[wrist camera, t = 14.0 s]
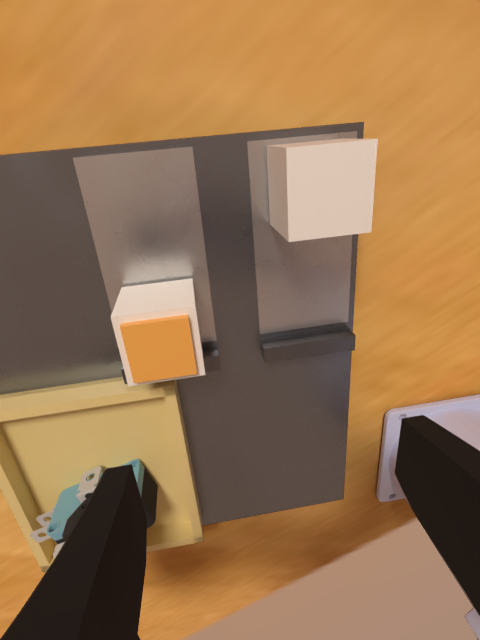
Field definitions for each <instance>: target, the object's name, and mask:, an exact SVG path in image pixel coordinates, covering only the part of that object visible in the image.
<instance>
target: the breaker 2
mask: <svg viewBox="0 0 480 640" xmlns="http://www.w3.org/2000/svg"><path fill="white" fill-rule="evenodd" d="M377 141H378V139H346V138H341V139H331V140H320V141H310V142H299V143H289V144H278V145H268V146H266V147H267V168H268V190H269V211H270V225H271V226H272V227H273V228H274V229H275V230H276V231H278V232H279V233H280V234H281V235H282V236H283V237H284V238H285V239H286V240H287V241H288V242H294V241H302V240H311V239H319V238H327V237H336V236H344V235H352V234H361V233H369V232H371V228H372V214H373V199H374V185H375V170H376V156H377Z"/></svg>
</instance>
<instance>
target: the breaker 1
mask: <svg viewBox="0 0 480 640" xmlns="http://www.w3.org/2000/svg"><path fill="white" fill-rule="evenodd" d="M111 321H112V325H113V329H114V333H115V337H116V340H117V344H118V348H119V352H120V356H121V360H122V364H123V368H124V372H125V376H126V380H127V384H128V387H129V386H136V385H142V384H149V383H156V382H162V381H169V380H175V379H182V378H189V377H195V376H202V375H205V367H204V359H203V350H202V341H201V334H200V327H199V320H198V313H197V306H196V299H195V292H194V285H193V278H191V279H183V280H175V281H167V282H159V283H151V284H143V285H135V286H127V287H121V290H120V293H119V296H118V298H117V301H116V304H115V306H114V309H113V312H112V314H111Z"/></svg>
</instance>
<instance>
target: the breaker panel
mask: <svg viewBox="0 0 480 640" xmlns="http://www.w3.org/2000/svg"><path fill="white" fill-rule="evenodd" d="M363 130H364V122H358V123H346V124H335V125H324V126H313V127H302V128H291V129H280V130H269V131H258V132H247V133H236V134H225V135H214V136H203V137H192V138H182V139H171V140H160V141H149V142H138V143H127V144H116V145H105V146H94V147H83V148H72V149H61V150H50V151H39V152H29V153H18V154H7V155H0V395H3V394H10V393H16V392H23V391H30V390H37V389H43V388H50V387H57V386H64V385H71V384H77V383H84V382H91V381H98V380H104V379H111V378H118V377H123V379H124V383H125V384H127V380H126V376H125V372H124V368H123V364H122V360H121V356H120V352H119V348H118V344H117V340H116V337H115V333H114V329H113V325H112V321H111V314H112V312H113V309H114V306H115V304H116V301H117V298H118V296H119V293H120V290H121V287H127V286H135V285H143V284H151V283H159V282H167V281H175V280H183V279H191V278H193V285H194V292H195V299H196V306H197V313H198V320H199V327H200V334H201V341H202V350H203V359H204V367H205V375H202V376H195V377H189V378H182V379H176V381H177V387H178V392H179V397H180V403H181V408H182V413H183V419H184V424H185V429H186V435H187V440H188V445H189V451H190V456H191V462H192V467H193V472H194V478H195V483H196V488H197V494H198V499H199V504H200V510H201V515H202V521H203V525H208V524H213V523H219V522H224V521H229V520H235V519H240V518H245V517H251V516H256V515H261V514H267V513H272V512H277V511H283V510H288V509H293V508H299V507H304V506H309V505H315V504H320V503H325V502H331V501H336V500H341V499H344V482H345V463H346V444H347V426H348V407H349V389H350V370H351V352H352V350H355V334H354V333H353V315H354V296H355V278H356V259H357V241H358V234H352V235H344V236H336V237H327V238H319V239H311V240H302V241H294V242H288V241H287V240H286V239H285V238H284V237H283V236H282V235H281V234H280V233H279V232H278V231H276V230H275V229H274V228H273V227H272V226H271V225H270V211H269V190H268V168H267V147H266V146H268V145H278V144H289V143H299V142H310V141H320V140H331V139H341V138H346V139H363Z"/></svg>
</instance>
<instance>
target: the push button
mask: <svg viewBox="0 0 480 640" xmlns="http://www.w3.org/2000/svg"><path fill="white" fill-rule="evenodd" d="M130 464H132V467H133V471H134V474H135V478H136V482H137V485H138V489H139V492H140V496H141V499H142V503H143V506H144V510H145V514H146V517H147V528H149V527H151V526H152V525H153V524H154V523H155V520H156V507H157V491H158V485H157V484H156V482H155V481H154V480H153V478H152V477H151V476H150V474H149V473H148V471H147V470H146V469H145V467H144V466H143V464H142V463H141V462H140V460H139V459H134V460H132V461H129V462H128V463H126V464H124V465H130ZM124 465H121V466H124ZM101 470H102V468H101V467H100V466H98V467H96V468H93V469H91V470H88V471H86V472H85V473H84V474H83V475H82V478H81V481H80V483H79V484H76V485H74V486H72V487H69V488H67V489H65V490H63V491H62V492H61V494H60V495H59V498H58V501H57V504H56V506H55V507H53V508H52V511H50V512H47V513H45V514H42V515H40V516H38V517H36V520H37V521H38V522H39V523H40V524H41V525H42V526H43V528H40V529H38V530H35V531H33V532H31V533H30V536H31V537H32V538H33V539H34V540H35V541H36V542H37V543H40V542H42V541H45V540H47V539H50V538H52V539H53V540H54V541H55V542H56V543H57V544H58V545H56V546H55V549H54V553H53V556H54V557H55V558H56V556H57V554H58V553H59V551H60V549H61V548H62V546H63V544H64V543H65V541H66V539H67V538H68V536H69V534H70V533H71V531H72V529H73V528H74V526H75V524H76V522H77V521H78V519H79V517H80V515H81V514H82V512H83V510H84V508H85V506H86V505H87V503H88V501H89V499H90V497H91V496H92V494H93V492H94V490H95V488H96V486H97V484H98V482H99V480H100V478H101V477H102V475H103V473H102V474H101ZM91 474H95V475H94V477H93V478H90V479H88V480H87V478H88V477H89V476H90V475H91ZM45 517H50V518H51V521H46V520H44V518H45ZM41 532H42V533H45V534H46V536H44V537H41V536H39V535H38V534H39V533H41ZM137 640H140V638H139V636H138V634H137Z"/></svg>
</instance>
